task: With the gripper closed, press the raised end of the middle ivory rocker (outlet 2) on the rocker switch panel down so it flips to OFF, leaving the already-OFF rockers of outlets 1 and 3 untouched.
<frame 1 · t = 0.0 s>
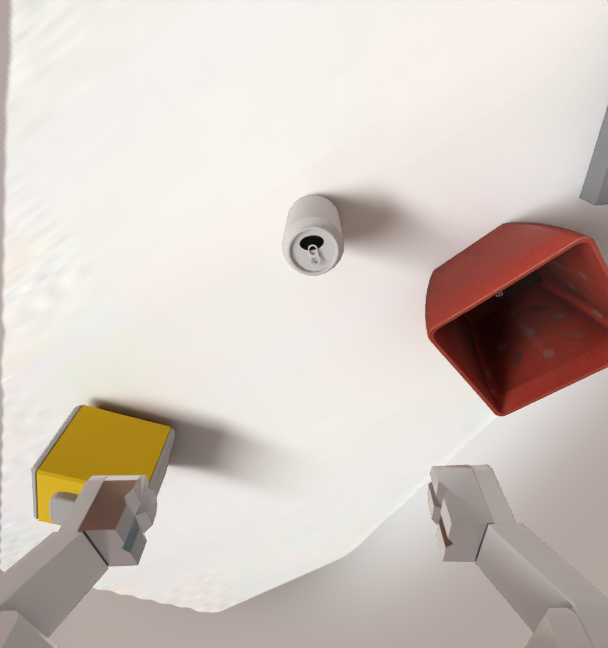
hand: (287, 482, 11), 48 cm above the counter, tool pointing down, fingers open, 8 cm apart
can: (313, 219, 56), on the counter
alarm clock: (128, 432, 82), on the counter
plant pot: (485, 276, 60), on the counter
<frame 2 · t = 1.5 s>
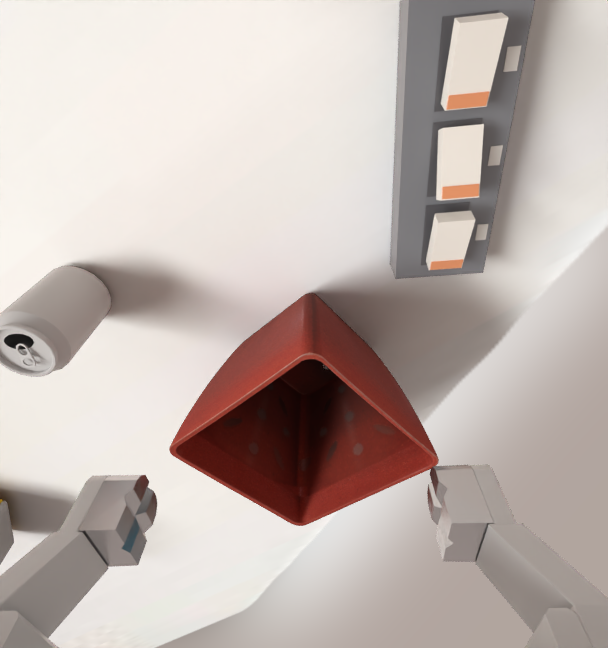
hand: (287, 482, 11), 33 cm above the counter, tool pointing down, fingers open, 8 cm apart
rocker 1: (471, 64, 29), point 5 cm above the counter, hinge at 15.0°
rocker 3: (448, 242, 37), point 5 cm above the counter, hinge at 15.0°
rocker 2: (459, 163, 33), point 5 cm above the counter, hinge at -15.0°
can: (83, 289, 47), on the counter
rocker switch panel: (441, 151, 37), on the counter
plant pot: (306, 348, 51), on the counter
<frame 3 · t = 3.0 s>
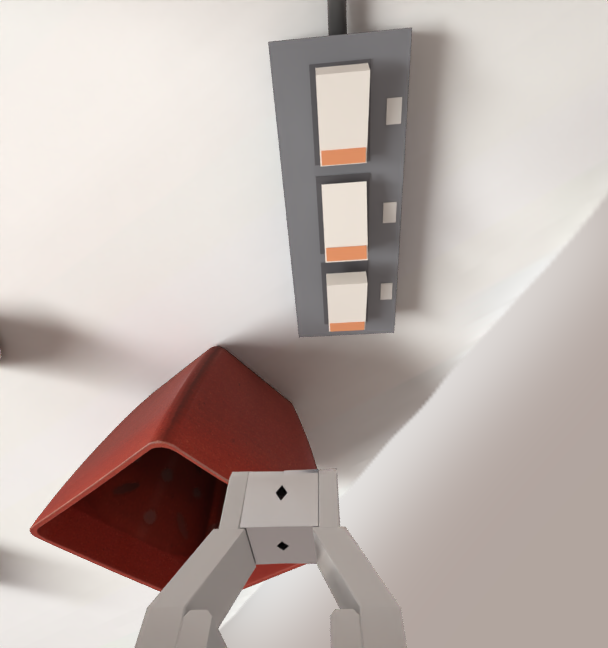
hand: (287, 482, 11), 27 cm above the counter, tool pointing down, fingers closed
rocker 1: (342, 118, 25), point 5 cm above the counter, hinge at 15.0°
rocker 3: (346, 303, 33), point 5 cm above the counter, hinge at 15.0°
rocker 2: (344, 222, 29), point 5 cm above the counter, hinge at -15.0°
rocker switch panel: (341, 202, 34), on the counter
plant pot: (222, 400, 47), on the counter
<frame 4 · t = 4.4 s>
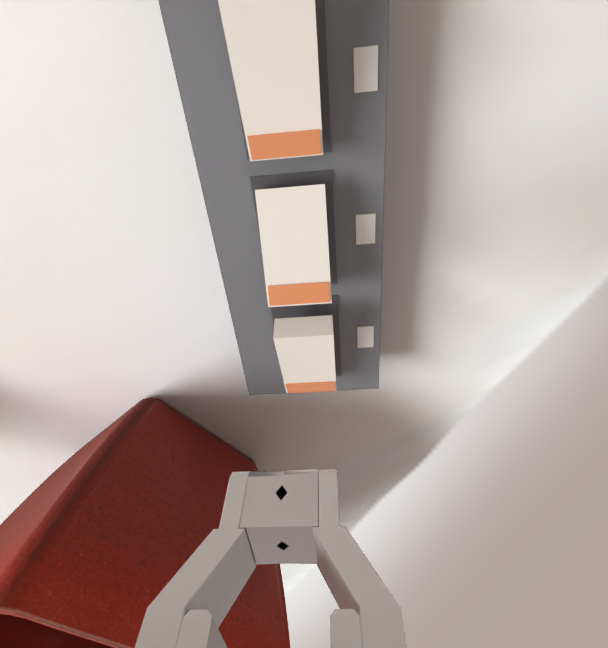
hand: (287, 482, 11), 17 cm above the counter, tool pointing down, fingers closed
rocker 1: (278, 80, 15), point 5 cm above the counter, hinge at 15.0°
rocker 3: (307, 357, 23), point 5 cm above the counter, hinge at 15.0°
rocker 2: (295, 247, 19), point 5 cm above the counter, hinge at -15.0°
rocker switch panel: (299, 212, 23), on the counter
plant pot: (167, 458, 38), on the counter
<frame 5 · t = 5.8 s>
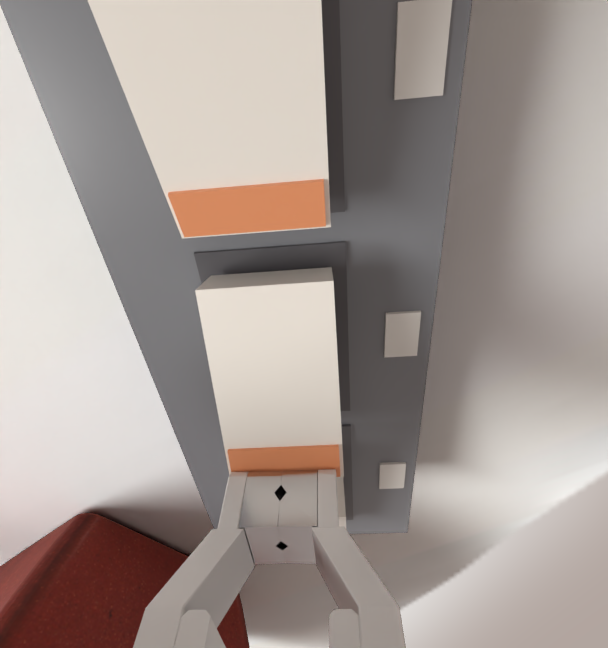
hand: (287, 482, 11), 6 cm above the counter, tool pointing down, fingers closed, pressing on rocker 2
rocker 1: (228, 73, 7), point 5 cm above the counter, hinge at 15.0°
rocker 3: (301, 520, 14), point 5 cm above the counter, hinge at 15.0°
rocker 2: (278, 379, 10), point 5 cm above the counter, hinge at -13.3°, touching gripper
rocker switch panel: (288, 285, 15), on the counter
plant pot: (121, 569, 29), on the counter
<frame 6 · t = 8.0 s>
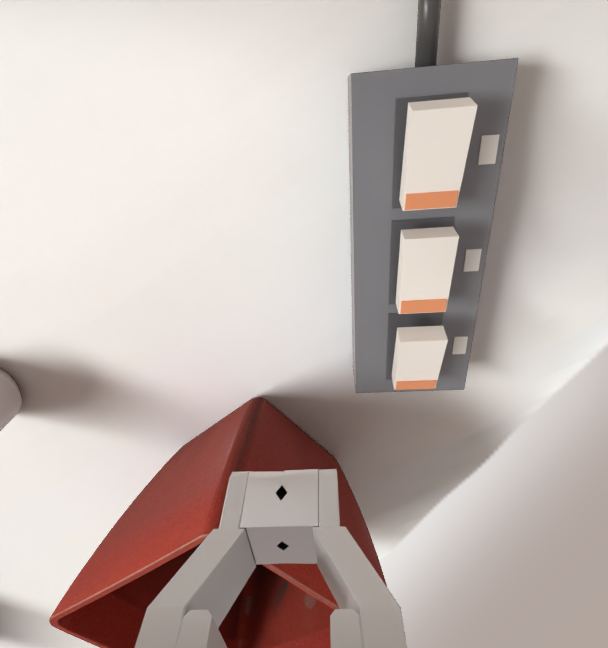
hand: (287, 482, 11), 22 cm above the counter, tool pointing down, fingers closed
rocker 1: (434, 158, 22), point 5 cm above the counter, hinge at 15.0°
rocker 3: (417, 359, 29), point 5 cm above the counter, hinge at 15.0°
rocker 2: (424, 272, 26), point 5 cm above the counter, hinge at 7.8°
rocker switch panel: (409, 246, 30), on the counter
plant pot: (258, 454, 43), on the counter
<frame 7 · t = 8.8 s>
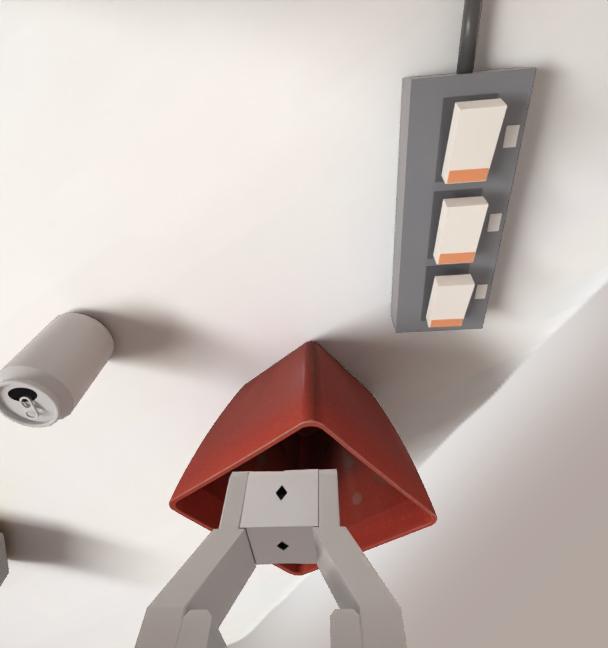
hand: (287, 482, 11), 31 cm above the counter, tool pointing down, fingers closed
rocker 1: (471, 143, 30), point 5 cm above the counter, hinge at 15.0°
rocker 3: (448, 302, 37), point 5 cm above the counter, hinge at 15.0°
rocker 2: (458, 232, 33), point 5 cm above the counter, hinge at 10.9°
can: (86, 334, 47), on the counter
rocker switch panel: (442, 213, 38), on the counter
plant pot: (306, 391, 52), on the counter
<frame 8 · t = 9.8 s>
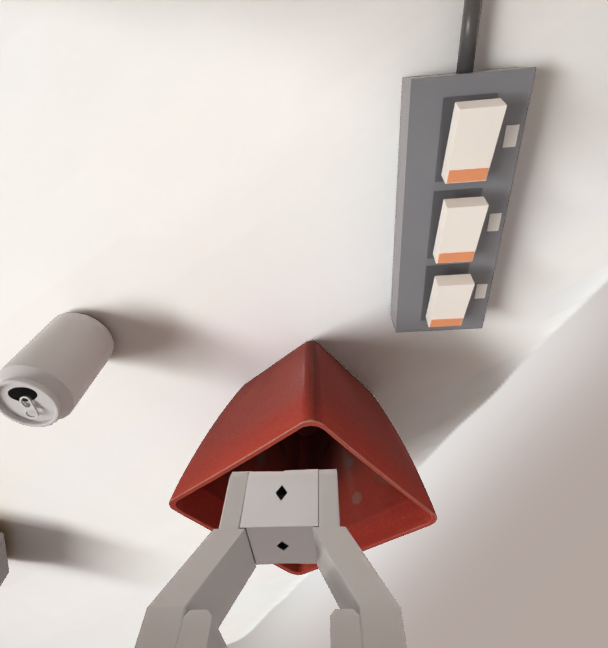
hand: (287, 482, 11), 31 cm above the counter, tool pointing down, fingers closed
rocker 1: (471, 143, 30), point 5 cm above the counter, hinge at 15.0°
rocker 3: (448, 302, 37), point 5 cm above the counter, hinge at 15.0°
rocker 2: (458, 231, 34), point 5 cm above the counter, hinge at 13.7°
can: (86, 333, 47), on the counter
rocker switch panel: (442, 212, 38), on the counter
plant pot: (306, 391, 52), on the counter
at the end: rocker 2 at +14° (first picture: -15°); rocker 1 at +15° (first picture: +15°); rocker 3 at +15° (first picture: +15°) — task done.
